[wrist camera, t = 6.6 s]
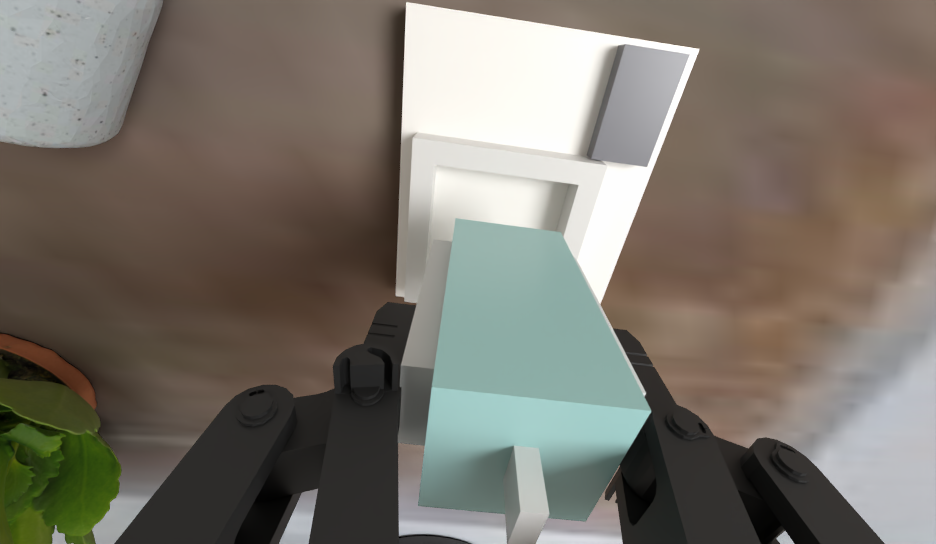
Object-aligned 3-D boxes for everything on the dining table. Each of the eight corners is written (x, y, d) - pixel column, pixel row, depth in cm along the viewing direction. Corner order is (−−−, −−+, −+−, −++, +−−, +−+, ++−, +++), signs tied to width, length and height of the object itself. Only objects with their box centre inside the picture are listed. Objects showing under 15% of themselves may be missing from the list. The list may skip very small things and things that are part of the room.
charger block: (536, 316, 15) (600, 585, 7) (445, 305, 15) (409, 569, 7) (560, 231, 13) (685, 477, 5) (455, 218, 13) (422, 451, 5)
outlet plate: (588, 308, 22) (601, 336, 20) (399, 285, 22) (390, 310, 20) (684, 50, 15) (721, 46, 13) (411, 6, 15) (399, -6, 13)
